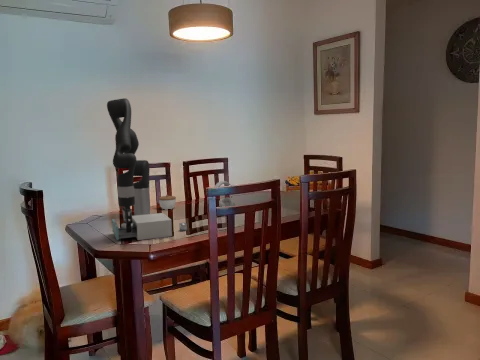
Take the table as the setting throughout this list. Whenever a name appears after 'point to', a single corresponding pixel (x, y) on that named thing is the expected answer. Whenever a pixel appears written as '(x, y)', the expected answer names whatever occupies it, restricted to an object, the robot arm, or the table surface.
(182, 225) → the stand
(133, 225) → the disc
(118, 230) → the grey drawer
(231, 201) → the headphones
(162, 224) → the housing
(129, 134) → the robot arm
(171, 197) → the lidded jar
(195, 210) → the table surface
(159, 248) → the table surface
